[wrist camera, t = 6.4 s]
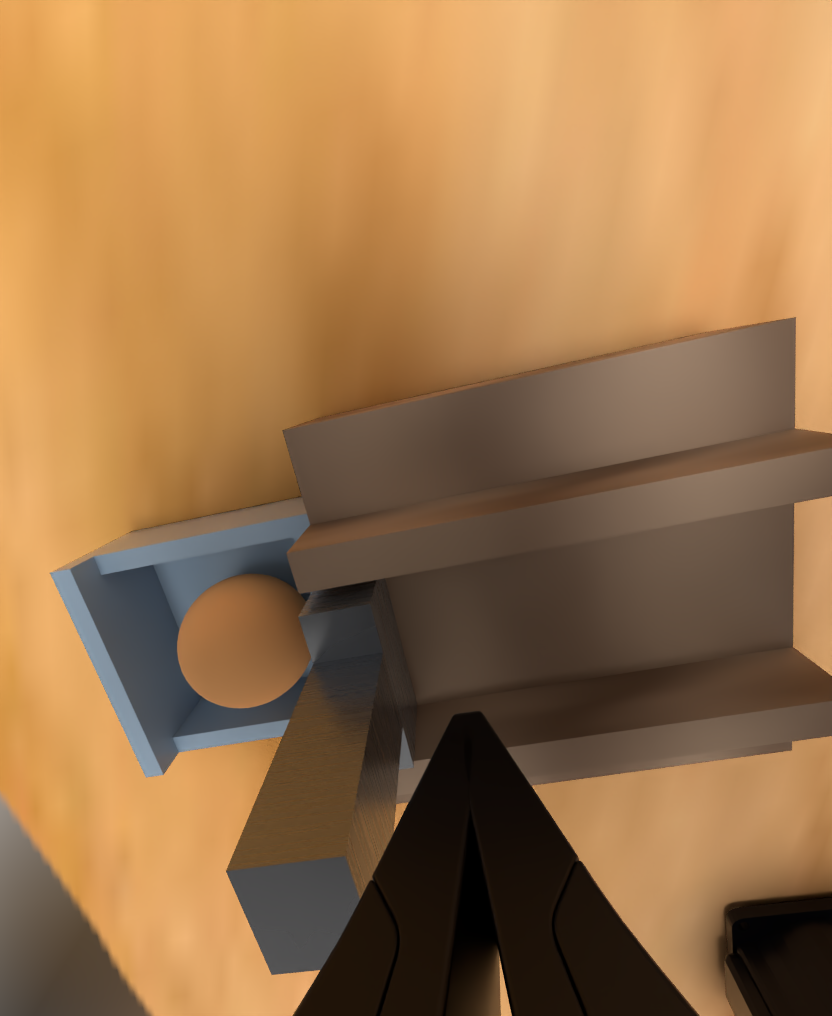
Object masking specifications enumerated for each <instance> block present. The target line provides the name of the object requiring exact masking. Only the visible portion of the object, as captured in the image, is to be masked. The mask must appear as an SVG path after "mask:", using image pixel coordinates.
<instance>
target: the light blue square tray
mask: <svg viewBox="0 0 832 1016" xmlns="http://www.w3.org/2000/svg"><path fill="white" fill-rule="evenodd" d="M309 526H310V523H309V519H308V516H307V512H306V509H305V506H304V502H303V499H302V497H297V498H292V499H287V500H283V501H278V502H273V503H268V504H263V505H258V506H253V507H248V508H244V509H239V510H234V511H229V512H224V513H219V514H214V515H209V516H205V517H200V518H195V519H190V520H185V521H180V522H175V523H170V524H166V525H161V526H156V527H151V528H146V529H141V530H136V531H131V532H129V533H127V534H125V535H124V536H122V537H120V538H118V539H116V540H114V541H112V542H110V543H108V544H106V545H104V546H102V547H100V548H98V549H96V550H94V551H92V552H90V553H88V554H86V555H84V556H82V557H80V558H78V559H76V560H74V561H72V562H70V563H68V564H67V565H65V566H63V567H61V568H59V569H57V570H55V571H53V572H51V573H50V574H51V576H52V578H53V580H54V583H55V585H56V587H57V589H58V591H59V593H60V595H61V597H62V600H63V602H64V604H65V606H66V608H67V610H68V612H69V614H70V617H71V619H72V621H73V623H74V625H75V627H76V629H77V632H78V634H79V636H80V638H81V640H82V642H83V644H84V646H85V649H86V651H87V653H88V655H89V657H90V659H91V661H92V663H93V666H94V668H95V670H96V672H97V674H98V676H99V678H100V681H101V683H102V685H103V687H104V689H105V691H106V693H107V695H108V698H109V700H110V702H111V704H112V706H113V708H114V710H115V712H116V715H117V717H118V719H119V721H120V723H121V725H122V727H123V729H124V732H125V734H126V736H127V738H128V740H129V742H130V744H131V747H132V749H133V751H134V753H135V755H136V757H137V759H138V761H139V764H140V766H141V768H142V770H143V772H144V774H145V776H146V777H152V776H159V775H164V773H165V772H166V770H167V769H168V767H169V766H170V764H171V763H172V761H173V760H174V759H175V757H176V756H177V754H178V753H179V752H183V751H190V750H196V749H203V748H209V747H216V746H222V745H229V744H235V743H242V742H249V741H255V740H262V739H268V738H275V737H281V736H283V735H284V732H285V730H286V728H287V725H288V723H289V720H290V718H291V716H292V713H293V711H294V709H295V706H296V704H297V701H298V699H299V697H300V694H301V692H302V690H303V687H304V685H305V682H306V680H307V678H308V675H309V673H310V670H311V668H312V666H313V662H312V659H310V662H309V664H308V666H307V668H306V670H305V671H304V673H303V674H302V676H301V677H300V678H299V680H298V681H297V682H296V683H295V684H294V685H293V686H292V687H291V688H290V689H289V690H288V691H286V692H285V693H284V694H282V695H281V696H279V697H278V698H276V699H274V700H272V701H270V702H268V703H265V704H262V705H259V706H255V707H250V708H228V707H224V706H220V705H217V704H215V703H212V702H210V701H208V700H206V699H205V698H203V697H202V696H200V695H199V694H198V693H197V692H196V691H195V690H194V689H193V688H192V687H191V686H190V684H189V683H188V682H187V680H186V679H185V677H184V675H183V673H182V671H181V667H180V664H179V661H178V654H177V641H178V634H179V630H180V627H181V624H182V621H183V619H184V616H185V615H186V613H187V611H188V609H189V608H190V607H191V605H192V604H193V603H194V601H195V600H196V599H197V598H198V597H199V596H200V595H201V594H202V593H203V592H204V591H206V590H207V589H208V588H210V587H211V586H213V585H214V584H216V583H218V582H220V581H222V580H224V579H227V578H229V577H232V576H237V575H242V574H263V575H269V576H272V577H276V578H278V579H280V580H282V581H284V582H286V583H288V584H289V585H291V586H292V587H293V588H294V589H295V590H297V586H296V583H295V580H294V577H293V574H292V571H291V567H290V564H289V561H288V558H287V555H286V553H287V552H288V551H289V549H290V548H291V547H292V546H293V545H294V543H295V542H296V541H297V540H298V539H299V537H300V536H301V535H302V534H303V533H304V531H305V530H306V529H307V528H308V527H309ZM297 591H298V590H297ZM311 593H312V592H307V593H302V594H301V596H302V597H303V598H304V600H305V601H306V602H307V600H308V598H309V597H310V595H311Z"/></svg>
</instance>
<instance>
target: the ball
mask: <svg viewBox="0 0 832 1016" xmlns="http://www.w3.org/2000/svg"><path fill="white" fill-rule="evenodd" d="M305 604H306V601H305V600H304V598H303V597H302V596H301V594H299V593H298V591H297V590H295V589H294V588H293V587H292V586H291V585H289V584H288V583H286V582H284V581H282V580H280V579H278V578H276V577H272V576H269V575H263V574H242V575H237V576H232V577H229V578H227V579H224V580H222V581H220V582H218V583H216V584H214V585H213V586H211V587H210V588H208V589H207V590H206V591H204V592H203V593H202V594H201V595H200V596H199V597H198V598H197V599H196V600H195V601H194V603H193V604H192V605H191V607H190V608H189V609H188V611H187V613H186V615H185V616H184V619H183V621H182V624H181V627H180V630H179V634H178V641H177V654H178V661H179V664H180V667H181V671H182V673H183V675H184V677H185V679H186V680H187V682H188V683H189V684H190V686H191V687H192V688H193V689H194V690H195V691H196V692H197V693H198V694H199V695H200V696H202V697H203V698H205V699H206V700H208V701H210V702H212V703H215V704H217V705H220V706H224V707H228V708H250V707H255V706H259V705H262V704H265V703H268V702H270V701H272V700H274V699H276V698H278V697H279V696H281V695H282V694H284V693H285V692H286V691H288V690H289V689H290V688H291V687H292V686H293V685H294V684H295V683H296V682H297V681H298V680H299V678H300V677H301V676H302V674H303V673H304V671H305V670H306V668H307V666H308V664H309V662H310V659H311V656H310V652H309V649H308V646H307V643H306V640H305V637H304V634H303V631H302V627H301V624H300V621H299V618H298V616H299V614H300V613H301V611H302V609H303V607H304V605H305Z"/></svg>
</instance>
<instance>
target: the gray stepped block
mask: <svg viewBox="0 0 832 1016" xmlns="http://www.w3.org/2000/svg"><path fill="white" fill-rule="evenodd" d="M298 618H299V621H300V624H301V627H302V631H303V634H304V637H305V640H306V643H307V646H308V649H309V652H310V656H311V659H312V662H313V666H312V668H311V670H310V673H309V675H308V678H307V680H306V682H305V685H304V687H303V690H302V692H301V694H300V697H299V699H298V701H297V704H296V706H295V709H294V711H293V713H292V716H291V718H290V720H289V723H288V725H287V728H286V730H285V732H284V735H283V737H282V739H281V742H280V744H279V747H278V749H277V751H276V754H275V756H274V758H273V761H272V763H271V766H270V768H269V770H268V773H267V775H266V777H265V780H264V782H263V785H262V787H261V789H260V792H259V794H258V796H257V799H256V801H255V804H254V806H253V808H252V811H251V813H250V815H249V818H248V820H247V823H246V825H245V827H244V830H243V832H242V834H241V837H240V839H239V842H238V844H237V846H236V849H235V851H234V853H233V856H232V858H231V861H230V863H229V865H228V868H227V870H226V872H227V874H228V877H229V879H230V881H231V883H232V886H233V888H234V890H235V893H236V895H237V897H238V899H239V902H240V904H241V906H242V908H243V911H244V913H245V915H246V917H247V920H248V922H249V924H250V927H251V929H252V931H253V933H254V936H255V938H256V940H257V942H258V945H259V947H260V949H261V952H262V954H263V956H264V958H265V961H266V963H267V965H268V967H269V970H270V972H271V974H272V975H275V974H285V973H294V972H304V971H314V970H321V969H322V967H323V965H324V964H325V962H326V960H327V959H328V957H329V955H330V954H331V952H332V950H333V949H334V947H335V945H336V944H337V942H338V940H339V938H340V936H341V935H342V933H343V931H344V929H345V927H346V925H347V923H348V921H349V920H350V918H351V916H352V914H353V912H354V910H355V908H356V907H357V905H358V903H359V901H360V899H361V897H362V895H363V893H364V891H365V889H366V886H367V884H368V882H369V881H370V880H373V879H372V875H373V873H374V871H375V869H376V867H377V865H378V863H379V861H380V859H381V857H382V855H383V853H384V851H385V849H386V847H387V845H388V843H389V841H390V839H391V837H392V835H393V832H394V821H395V810H396V798H397V787H398V776H399V770H401V769H408V768H414V756H415V736H416V717H417V701H416V697H415V693H414V689H413V685H412V681H411V678H410V674H409V670H408V666H407V662H406V658H405V654H404V650H403V646H402V642H401V638H400V634H399V630H398V626H397V623H396V619H395V615H394V611H393V607H392V603H391V599H390V595H389V591H388V587H387V583H386V579H385V578H384V579H378V580H373V581H367V582H362V583H356V584H351V585H345V586H340V587H335V588H329V589H324V590H318V591H313V592H312V593H311V595H310V597H309V598H308V600H307V602H306V604H305V605H304V607H303V609H302V611H301V613H300V614H299V616H298Z"/></svg>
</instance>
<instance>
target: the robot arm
mask: <svg viewBox="0 0 832 1016" xmlns="http://www.w3.org/2000/svg"><path fill="white" fill-rule="evenodd" d="M372 879H373V880H370V881H369V882H368V884H367V886H366V889H365V891H364V893H363V895H362V897H361V899H360V901H359V903H358V905H357V907H356V908H355V910H354V912H353V914H352V916H351V918H350V920H349V921H348V923H347V925H346V927H345V929H344V931H343V933H342V935H341V936H340V938H339V940H338V942H337V944H336V945H335V947H334V949H333V950H332V952H331V954H330V955H329V957H328V959H327V960H326V962H325V964H324V965H323V967H322V969H321V970H320V972H319V974H318V975H317V977H316V979H315V980H314V982H313V984H312V985H311V987H310V989H309V990H308V992H307V993H306V995H305V997H304V998H303V1000H302V1001H301V1003H300V1005H299V1006H298V1008H297V1009H296V1011H295V1013H294V1014H293V1016H501V1006H500V968H499V956H500V961H501V965H502V970H503V975H504V980H505V985H506V989H507V994H508V999H509V1004H510V1009H511V1013H512V1016H699V1014H698V1013H697V1012H696V1011H695V1010H694V1008H693V1007H692V1006H691V1005H690V1004H689V1002H688V1001H687V1000H686V999H685V998H684V996H683V995H682V994H681V993H680V992H679V990H678V989H677V988H676V987H675V985H674V984H673V983H672V982H671V981H670V979H669V978H668V977H667V976H666V975H665V973H664V972H663V971H662V970H661V969H660V967H659V966H658V965H657V964H656V963H655V961H654V960H653V959H652V957H651V956H650V955H649V954H648V952H647V951H646V950H645V949H644V947H643V946H642V945H641V943H640V942H639V941H638V940H637V938H636V937H635V936H634V935H633V933H632V932H631V931H630V929H629V928H628V927H627V926H626V924H625V923H624V922H623V921H622V919H621V918H620V916H619V915H618V913H617V912H616V911H615V909H614V908H613V906H612V905H611V904H610V902H609V901H608V899H607V898H606V897H605V895H604V894H603V892H602V891H601V889H600V888H599V887H598V885H597V884H596V882H595V881H594V879H593V878H592V876H591V875H590V873H589V872H588V870H587V869H586V867H585V866H584V864H583V863H582V862H581V861H579V858H578V856H577V854H576V853H575V851H574V850H573V848H572V847H571V845H570V844H569V842H568V841H567V839H566V838H565V836H564V835H563V833H562V832H561V830H560V829H559V827H558V826H557V824H556V823H555V821H554V819H553V818H552V816H551V815H550V813H549V812H548V810H547V809H546V807H545V806H544V804H543V803H542V801H541V800H540V798H539V797H538V795H537V794H536V792H535V791H534V789H533V788H532V786H531V785H530V783H529V782H528V780H527V779H526V777H525V776H524V774H523V773H522V771H521V770H520V768H519V767H518V765H517V764H516V762H515V761H514V759H513V758H512V756H511V755H510V753H509V752H508V750H507V749H506V747H505V746H504V744H503V743H502V741H501V740H500V738H499V737H498V735H497V734H496V732H495V731H494V729H493V728H492V726H491V725H490V723H489V722H488V720H487V719H486V717H485V716H484V714H483V713H482V712H481V711H472V712H464V713H457V714H454V715H453V716H452V718H451V720H450V722H449V724H448V726H447V728H446V730H445V732H444V734H443V736H442V738H441V740H440V742H439V744H438V746H437V748H436V750H435V751H434V753H433V755H432V757H431V759H430V761H429V763H428V765H427V767H426V769H425V771H424V773H423V775H422V777H421V779H420V781H419V783H418V785H417V787H416V789H415V791H414V793H413V795H412V797H411V799H410V801H409V803H408V805H407V807H406V809H405V811H404V813H403V815H402V817H401V819H400V821H399V823H398V825H397V827H396V829H395V831H394V833H393V835H392V837H391V839H390V841H389V843H388V845H387V847H386V849H385V851H384V853H383V855H382V857H381V859H380V861H379V863H378V865H377V867H376V869H375V871H374V873H373V875H372ZM726 932H727V954H726V957H725V960H724V966H725V987H726V997H727V999H728V1002H729V1004H730V1006H731V1008H732V1010H733V1012H734V1014H735V1016H832V898H824V899H815V900H805V901H796V902H786V903H777V904H767V905H758V906H748V907H739V908H734V909H732V910H730V911H729V912H728V913H727V914H726Z"/></svg>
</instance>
